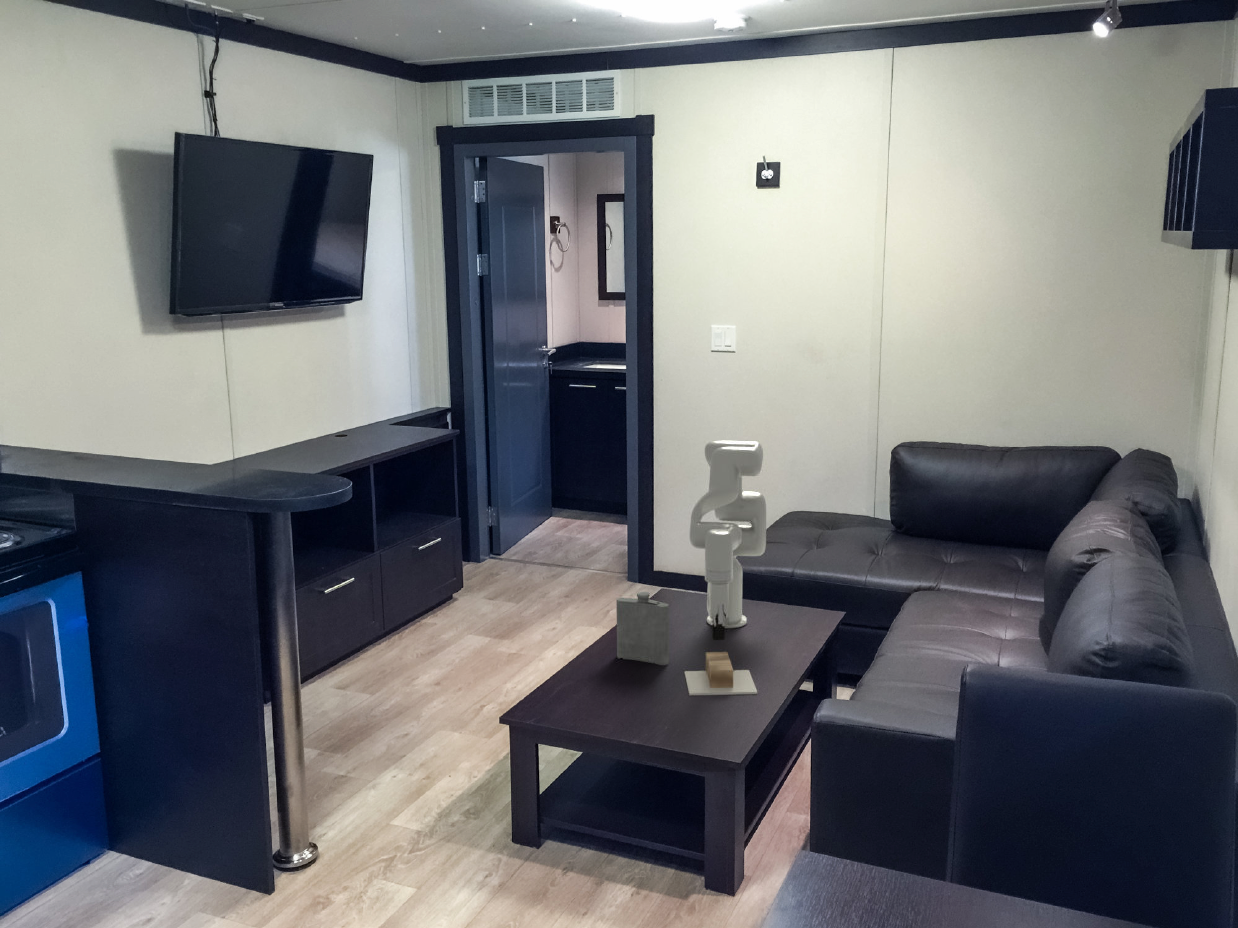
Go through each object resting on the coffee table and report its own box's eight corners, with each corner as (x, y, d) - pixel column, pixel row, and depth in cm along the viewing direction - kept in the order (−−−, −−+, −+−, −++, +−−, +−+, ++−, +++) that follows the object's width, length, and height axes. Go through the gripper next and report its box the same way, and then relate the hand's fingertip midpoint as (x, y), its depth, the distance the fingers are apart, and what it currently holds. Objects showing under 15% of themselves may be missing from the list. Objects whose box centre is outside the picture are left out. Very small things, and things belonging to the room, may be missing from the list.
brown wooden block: (705, 652, 294) (710, 670, 282) (727, 651, 295) (733, 669, 282) (705, 669, 295) (710, 687, 283) (726, 668, 296) (733, 687, 283)
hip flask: (615, 657, 306) (614, 591, 302) (621, 652, 310) (620, 587, 306) (666, 665, 300) (666, 598, 296) (671, 660, 303) (671, 594, 299)
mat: (684, 673, 294) (684, 671, 294) (748, 671, 295) (748, 669, 295) (689, 695, 280) (689, 693, 279) (757, 693, 280) (757, 691, 280)
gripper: (702, 566, 293) (701, 629, 297) (708, 583, 278) (707, 649, 282) (729, 566, 293) (728, 629, 297) (736, 582, 279) (735, 648, 282)
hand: (718, 638), depth 289 cm, fingers closed
